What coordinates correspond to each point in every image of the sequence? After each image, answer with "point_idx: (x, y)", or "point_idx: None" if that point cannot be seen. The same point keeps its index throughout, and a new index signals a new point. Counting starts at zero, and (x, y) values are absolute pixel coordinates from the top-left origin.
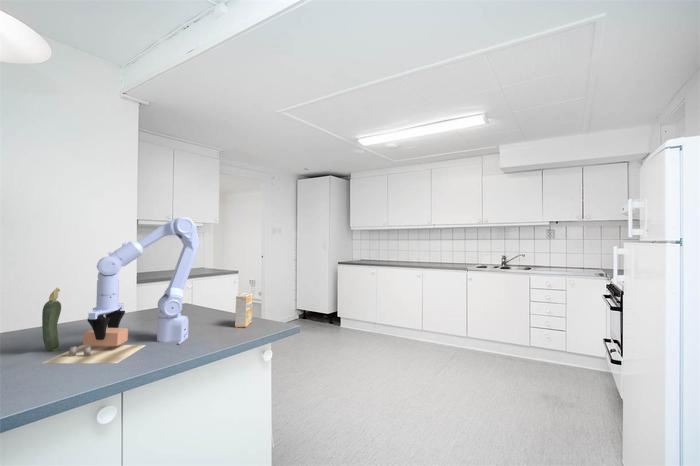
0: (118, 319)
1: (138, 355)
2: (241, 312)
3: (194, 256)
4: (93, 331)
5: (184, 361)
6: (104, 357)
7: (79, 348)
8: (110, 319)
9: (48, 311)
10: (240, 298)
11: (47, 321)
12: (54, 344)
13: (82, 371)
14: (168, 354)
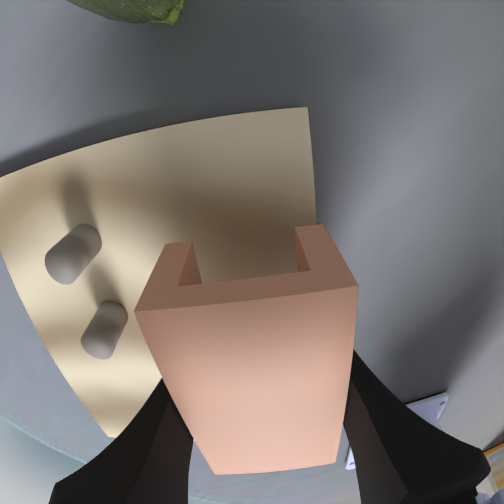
0: (360, 489)
1: None
2: (483, 492)
3: None
4: (196, 364)
5: (203, 501)
6: (127, 390)
7: (216, 157)
8: (373, 460)
9: None
10: None
11: None
12: (116, 18)
13: (35, 370)
14: (245, 479)
